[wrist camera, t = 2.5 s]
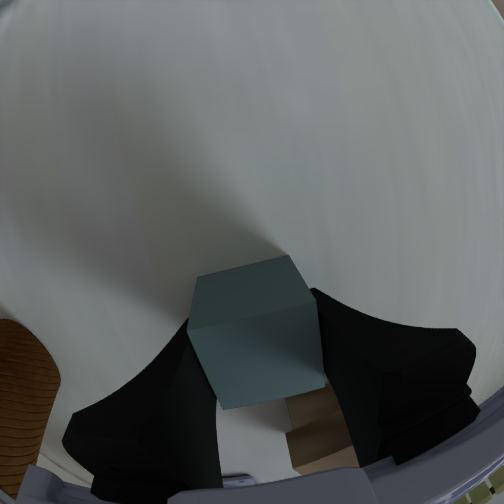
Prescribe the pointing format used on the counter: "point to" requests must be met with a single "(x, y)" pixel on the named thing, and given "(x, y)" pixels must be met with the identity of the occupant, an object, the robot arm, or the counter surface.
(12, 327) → the disposable coffee cup
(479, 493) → the slatted curved stool
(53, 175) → the counter surface
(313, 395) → the bottom slab
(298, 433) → the top slab
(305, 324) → the cube
